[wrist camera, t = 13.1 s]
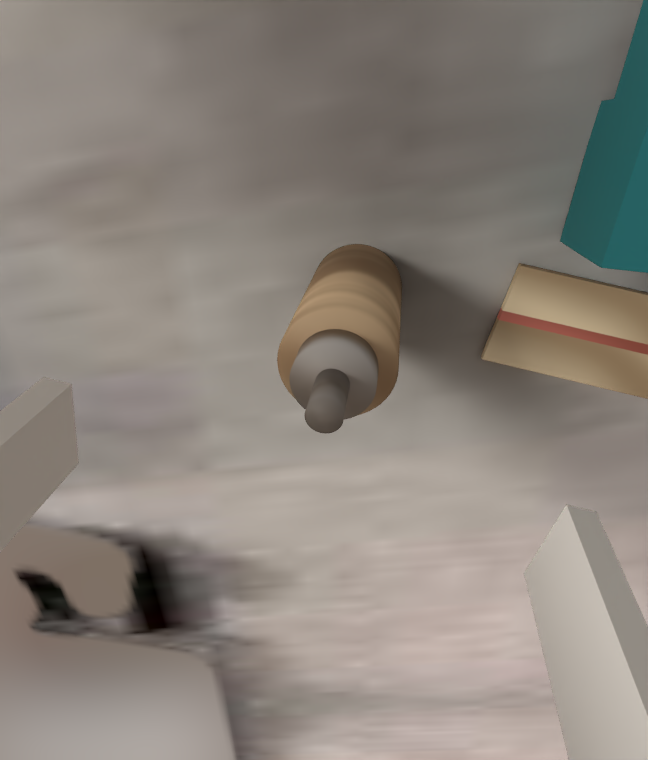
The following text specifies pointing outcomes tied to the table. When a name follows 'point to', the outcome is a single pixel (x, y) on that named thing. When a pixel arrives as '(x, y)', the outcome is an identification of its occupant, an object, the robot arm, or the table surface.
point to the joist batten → (573, 330)
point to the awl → (344, 337)
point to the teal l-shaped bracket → (616, 172)
